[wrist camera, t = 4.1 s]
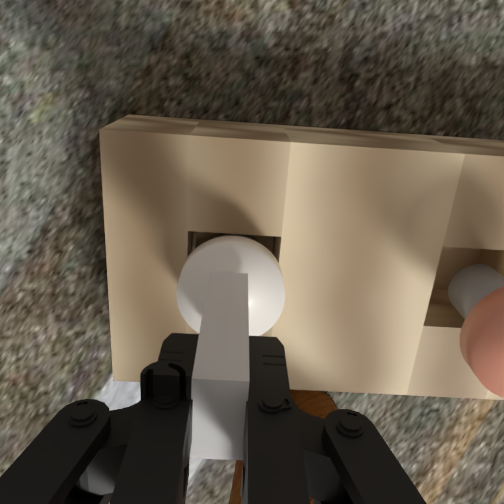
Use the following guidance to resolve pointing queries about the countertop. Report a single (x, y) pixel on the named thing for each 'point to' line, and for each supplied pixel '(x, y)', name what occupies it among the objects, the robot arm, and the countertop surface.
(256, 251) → the white mushroom knob
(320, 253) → the block
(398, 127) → the countertop surface
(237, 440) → the robot arm
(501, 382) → the pink round-capped knob part
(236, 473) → the disposable coffee cup
